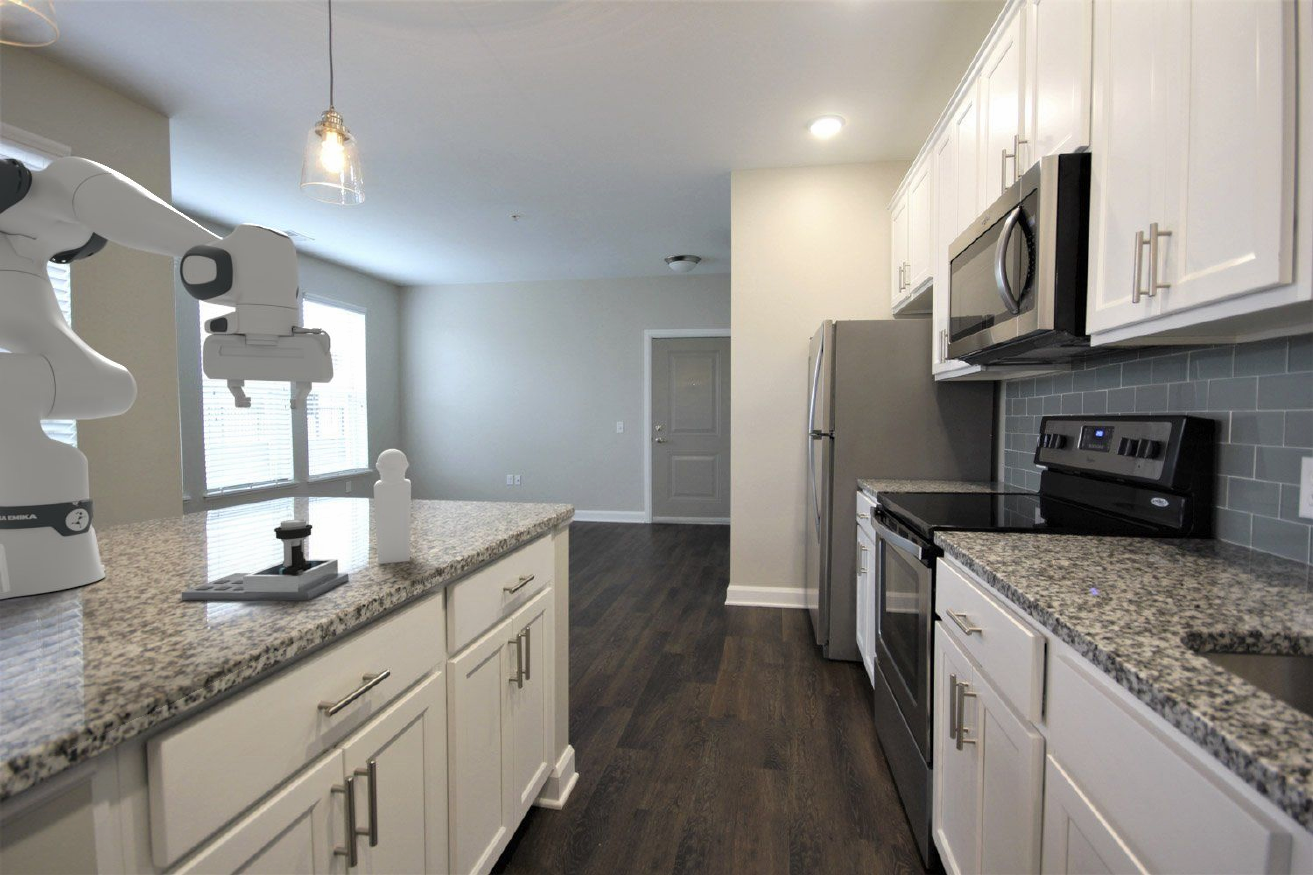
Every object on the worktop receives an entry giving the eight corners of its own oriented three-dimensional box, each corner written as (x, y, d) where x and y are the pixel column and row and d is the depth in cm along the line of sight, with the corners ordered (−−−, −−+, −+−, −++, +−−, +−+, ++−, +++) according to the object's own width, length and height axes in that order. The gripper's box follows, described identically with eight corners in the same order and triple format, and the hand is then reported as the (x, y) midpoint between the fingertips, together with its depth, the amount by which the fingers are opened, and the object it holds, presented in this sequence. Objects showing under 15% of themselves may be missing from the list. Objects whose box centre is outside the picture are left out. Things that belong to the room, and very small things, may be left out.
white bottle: (412, 561, 113) (409, 449, 112) (375, 565, 110) (372, 450, 109) (412, 554, 119) (410, 447, 118) (377, 557, 116) (374, 448, 115)
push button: (292, 589, 91) (290, 526, 90) (260, 588, 91) (259, 525, 91) (321, 577, 97) (319, 518, 97) (292, 576, 98) (290, 518, 98)
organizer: (181, 599, 90) (181, 576, 89) (235, 579, 101) (234, 558, 100) (308, 600, 89) (307, 576, 89) (348, 580, 100) (347, 559, 100)
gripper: (340, 329, 99) (341, 409, 100) (224, 326, 100) (226, 406, 101) (318, 325, 93) (319, 411, 94) (193, 321, 94) (196, 407, 95)
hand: (270, 408), depth 98 cm, fingers open, 8 cm apart
